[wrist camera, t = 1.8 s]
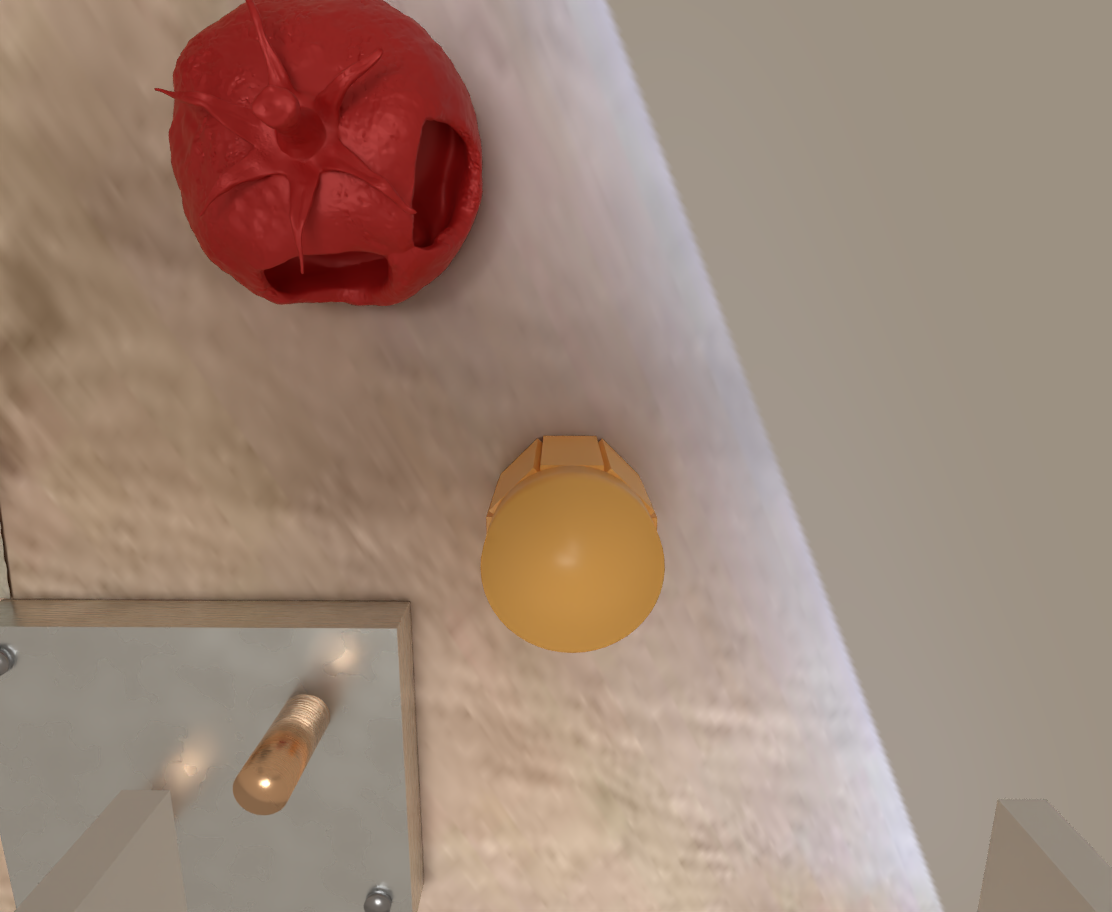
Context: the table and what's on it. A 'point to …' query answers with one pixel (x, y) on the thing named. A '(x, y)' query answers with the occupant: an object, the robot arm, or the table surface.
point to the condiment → (3, 573)
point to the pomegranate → (324, 150)
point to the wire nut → (571, 546)
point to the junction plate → (220, 744)
